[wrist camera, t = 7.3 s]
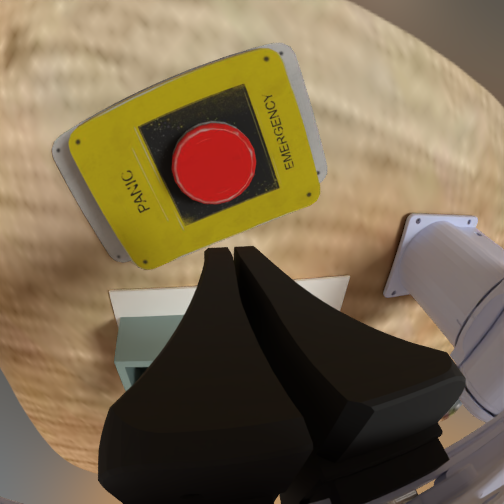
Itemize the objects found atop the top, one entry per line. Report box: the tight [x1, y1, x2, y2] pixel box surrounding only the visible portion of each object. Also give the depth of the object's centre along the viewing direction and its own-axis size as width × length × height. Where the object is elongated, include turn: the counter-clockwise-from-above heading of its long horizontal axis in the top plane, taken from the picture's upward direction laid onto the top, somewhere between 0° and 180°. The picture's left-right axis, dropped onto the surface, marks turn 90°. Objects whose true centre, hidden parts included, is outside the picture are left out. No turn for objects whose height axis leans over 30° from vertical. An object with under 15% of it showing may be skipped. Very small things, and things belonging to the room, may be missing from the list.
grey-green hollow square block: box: [114, 315, 184, 391], centre depth 22 cm, size 6×6×4 cm
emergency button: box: [52, 43, 327, 270], centre depth 16 cm, size 9×4×15 cm
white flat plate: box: [109, 275, 350, 328], centre depth 25 cm, size 18×11×1 cm, turn 86°
